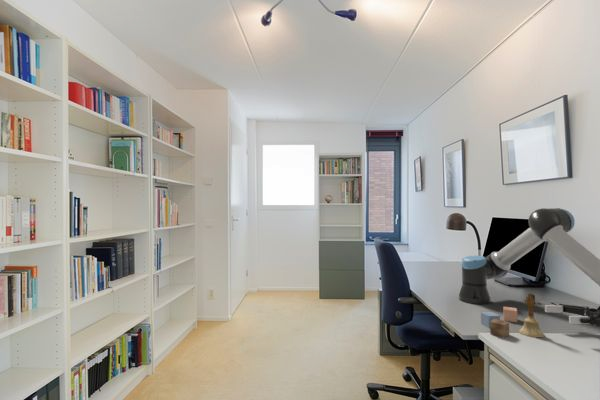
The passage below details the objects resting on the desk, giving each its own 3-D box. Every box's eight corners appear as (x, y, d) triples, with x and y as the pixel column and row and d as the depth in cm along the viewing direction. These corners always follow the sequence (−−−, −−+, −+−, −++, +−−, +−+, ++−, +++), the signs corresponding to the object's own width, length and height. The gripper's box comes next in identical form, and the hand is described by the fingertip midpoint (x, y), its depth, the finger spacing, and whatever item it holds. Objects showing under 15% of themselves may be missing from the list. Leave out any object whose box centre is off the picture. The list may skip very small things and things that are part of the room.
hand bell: (537, 339, 125) (536, 296, 125) (514, 332, 132) (513, 292, 133) (549, 335, 129) (548, 294, 129) (526, 328, 136) (525, 289, 137)
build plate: (542, 306, 169) (542, 297, 169) (525, 305, 171) (525, 296, 171) (534, 300, 180) (534, 292, 180) (519, 299, 183) (518, 290, 183)
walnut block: (490, 334, 130) (490, 321, 130) (495, 331, 133) (495, 318, 134) (504, 338, 126) (504, 324, 127) (509, 334, 130) (508, 322, 130)
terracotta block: (503, 320, 146) (503, 309, 146) (503, 317, 151) (503, 306, 151) (517, 322, 144) (517, 311, 144) (516, 319, 148) (516, 308, 148)
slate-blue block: (481, 324, 142) (480, 312, 142) (491, 323, 142) (491, 311, 143) (488, 328, 137) (488, 316, 137) (500, 327, 138) (499, 315, 138)
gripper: (645, 337, 116) (581, 335, 118) (589, 314, 141) (537, 313, 142) (645, 315, 116) (581, 314, 118) (588, 297, 141) (536, 296, 143)
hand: (556, 313), depth 130 cm, fingers open, 13 cm apart
